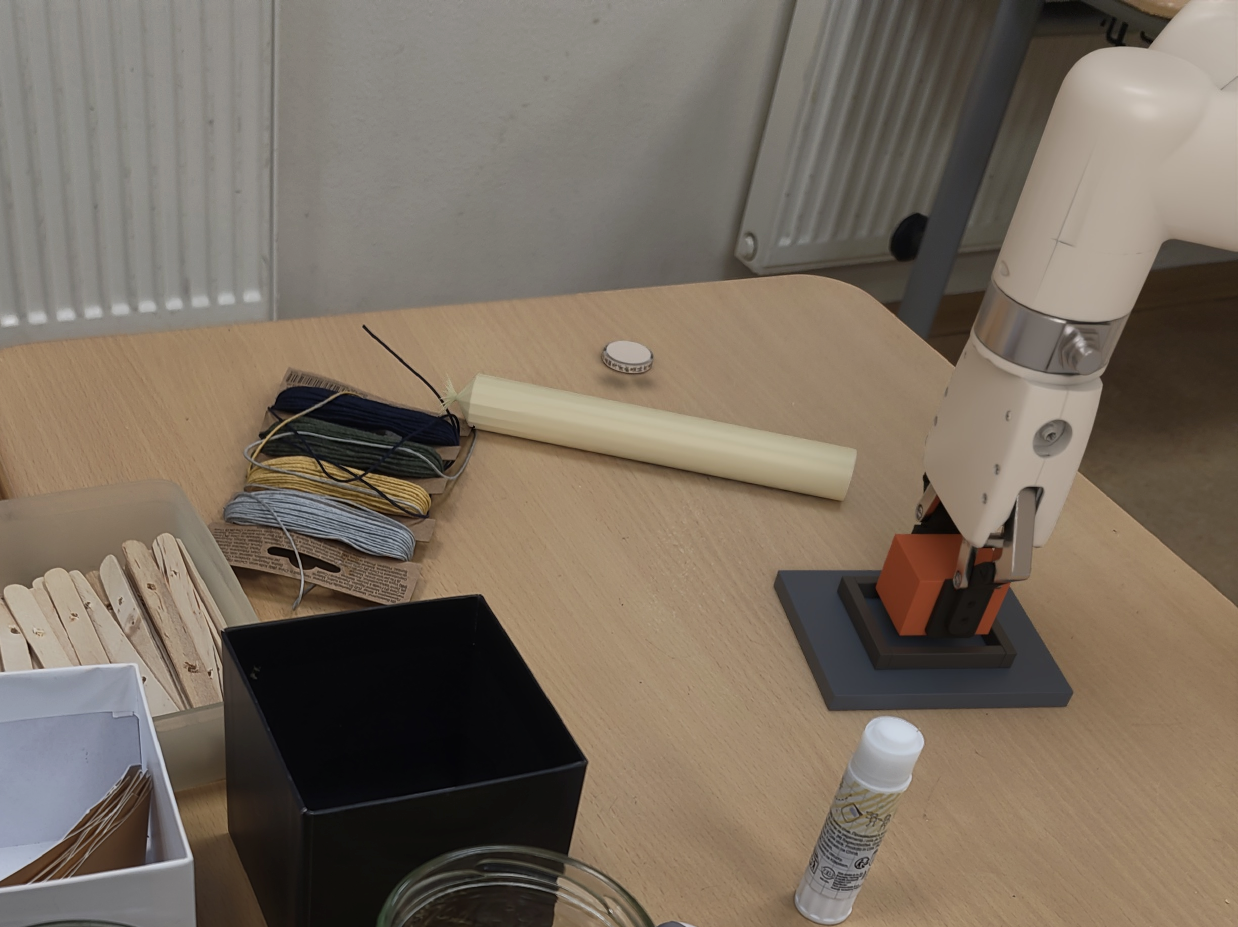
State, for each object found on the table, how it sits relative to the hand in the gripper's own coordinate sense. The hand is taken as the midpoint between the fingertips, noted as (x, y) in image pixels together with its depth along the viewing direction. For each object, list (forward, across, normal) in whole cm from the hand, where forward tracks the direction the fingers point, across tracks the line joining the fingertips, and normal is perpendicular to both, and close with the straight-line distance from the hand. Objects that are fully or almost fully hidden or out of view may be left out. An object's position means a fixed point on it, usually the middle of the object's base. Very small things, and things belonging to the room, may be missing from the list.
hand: (934, 605), depth 92 cm
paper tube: (+3, +22, +14) cm, 26 cm away
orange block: (0, 0, 0) cm, 0 cm away
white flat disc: (+3, +36, +12) cm, 38 cm away
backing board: (+3, 0, 0) cm, 3 cm away
